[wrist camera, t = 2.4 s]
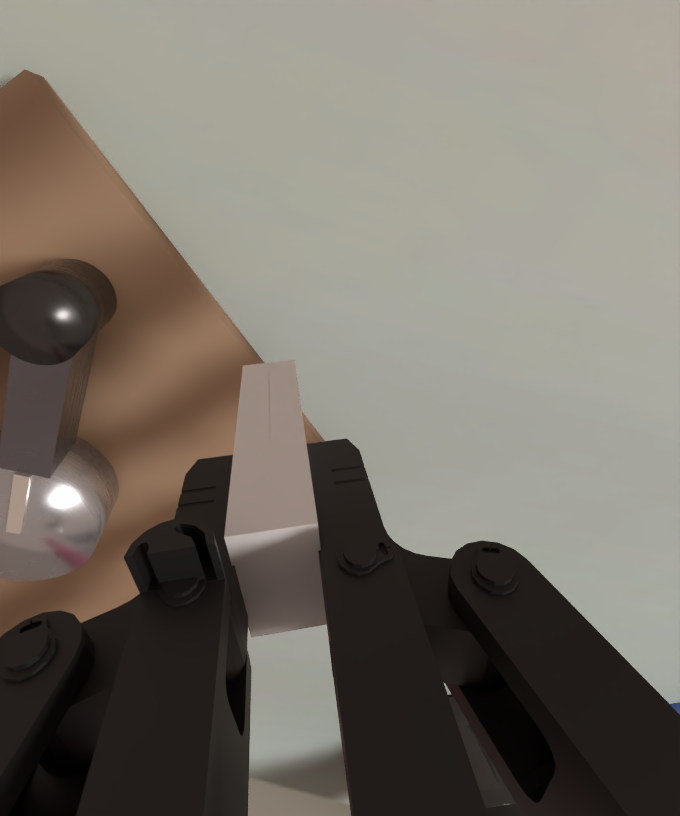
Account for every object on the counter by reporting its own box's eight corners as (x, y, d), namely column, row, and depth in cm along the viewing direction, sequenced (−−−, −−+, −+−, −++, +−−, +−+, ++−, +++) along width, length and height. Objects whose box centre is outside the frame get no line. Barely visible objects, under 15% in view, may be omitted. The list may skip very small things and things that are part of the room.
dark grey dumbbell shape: (105, 540, 25) (77, 607, 22) (-33, 515, 23) (-93, 585, 19) (174, 290, 19) (150, 322, 15) (-7, 223, 17) (-89, 240, 13)
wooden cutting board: (363, 491, 29) (368, 508, 28) (73, 652, 33) (64, 674, 31) (43, 77, 16) (21, 68, 15) (-373, 415, 20) (-423, 434, 19)
